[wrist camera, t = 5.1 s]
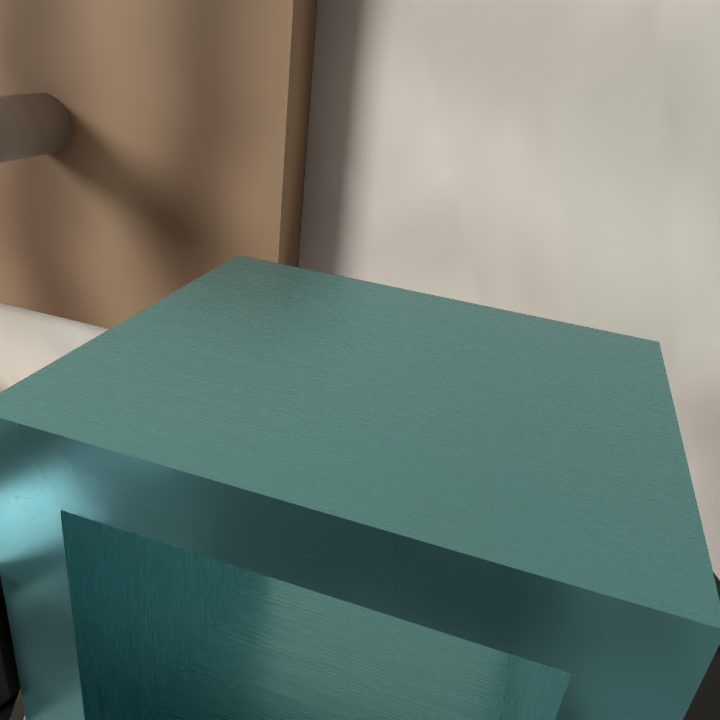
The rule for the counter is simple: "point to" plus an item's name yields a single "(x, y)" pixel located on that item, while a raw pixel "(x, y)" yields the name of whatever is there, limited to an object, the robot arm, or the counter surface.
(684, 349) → the counter surface
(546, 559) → the collar
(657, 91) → the counter surface
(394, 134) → the counter surface
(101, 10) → the post board
